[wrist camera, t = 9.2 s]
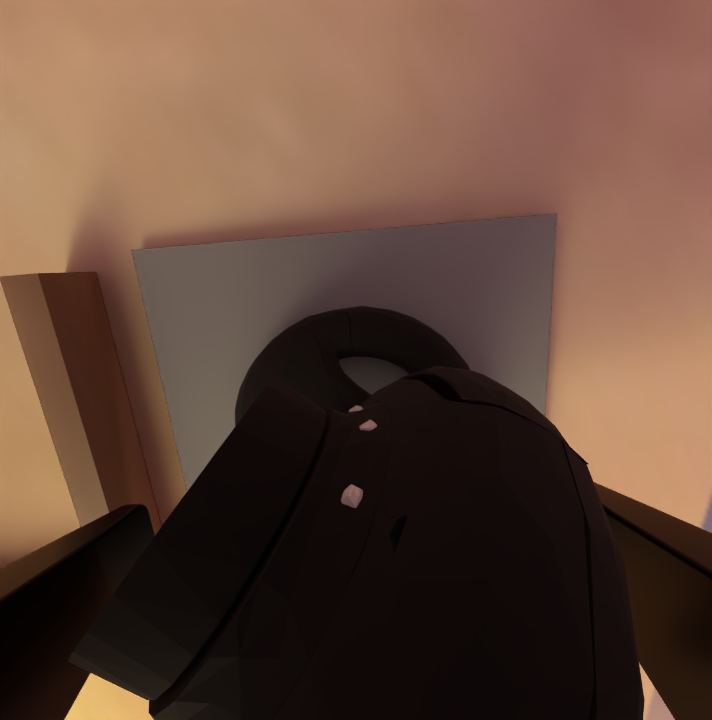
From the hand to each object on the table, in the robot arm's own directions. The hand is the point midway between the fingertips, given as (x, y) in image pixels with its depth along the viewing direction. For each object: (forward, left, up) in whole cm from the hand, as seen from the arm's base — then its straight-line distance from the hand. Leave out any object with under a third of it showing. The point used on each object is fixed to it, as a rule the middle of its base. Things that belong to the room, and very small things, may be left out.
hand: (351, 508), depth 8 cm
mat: (0, 0, -4) cm, 4 cm away
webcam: (0, 0, -4) cm, 4 cm away
